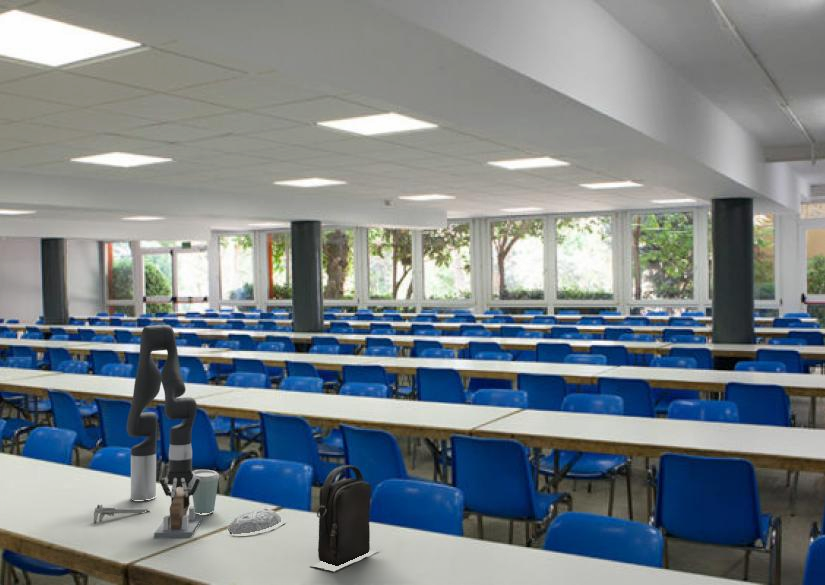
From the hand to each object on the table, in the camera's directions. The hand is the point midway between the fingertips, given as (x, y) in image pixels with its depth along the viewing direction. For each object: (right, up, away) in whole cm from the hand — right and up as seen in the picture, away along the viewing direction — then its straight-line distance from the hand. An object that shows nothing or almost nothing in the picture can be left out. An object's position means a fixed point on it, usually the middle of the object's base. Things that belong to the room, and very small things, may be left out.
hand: (180, 507), depth 265 cm
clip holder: (0, -7, -1) cm, 7 cm away
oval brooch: (+25, -8, +1) cm, 27 cm away
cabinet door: (0, -3, 0) cm, 3 cm away
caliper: (-24, -7, +12) cm, 28 cm away
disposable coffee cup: (+3, -7, +18) cm, 19 cm away
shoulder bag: (+59, -7, -31) cm, 67 cm away
